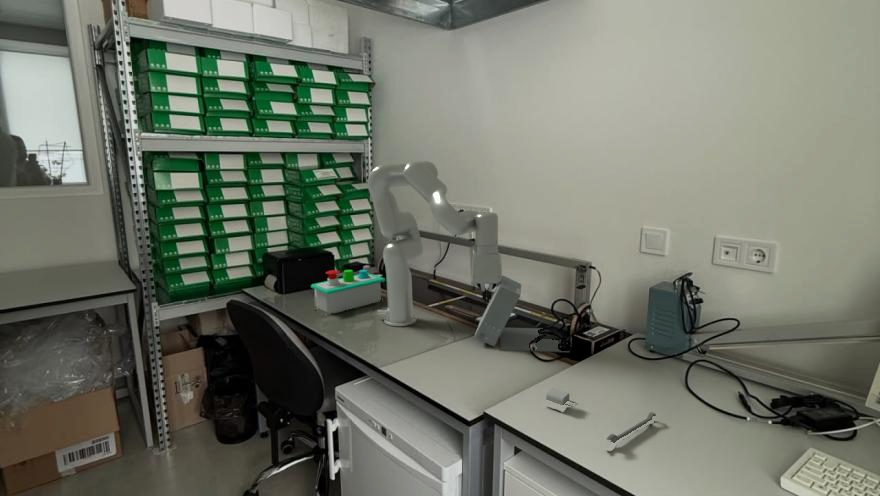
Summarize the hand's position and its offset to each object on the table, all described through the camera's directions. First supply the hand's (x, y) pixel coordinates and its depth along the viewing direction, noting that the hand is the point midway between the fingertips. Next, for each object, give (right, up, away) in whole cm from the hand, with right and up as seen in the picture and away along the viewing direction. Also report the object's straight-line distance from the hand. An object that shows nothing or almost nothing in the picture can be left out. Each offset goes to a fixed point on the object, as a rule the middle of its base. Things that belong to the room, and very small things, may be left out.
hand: (486, 301), depth 160 cm
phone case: (+6, -10, +22) cm, 25 cm away
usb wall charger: (+15, -22, -43) cm, 51 cm away
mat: (+16, -13, +1) cm, 20 cm away
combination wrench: (+27, -25, -55) cm, 66 cm away
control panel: (-55, -6, +42) cm, 70 cm away
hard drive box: (0, -12, +2) cm, 12 cm away
